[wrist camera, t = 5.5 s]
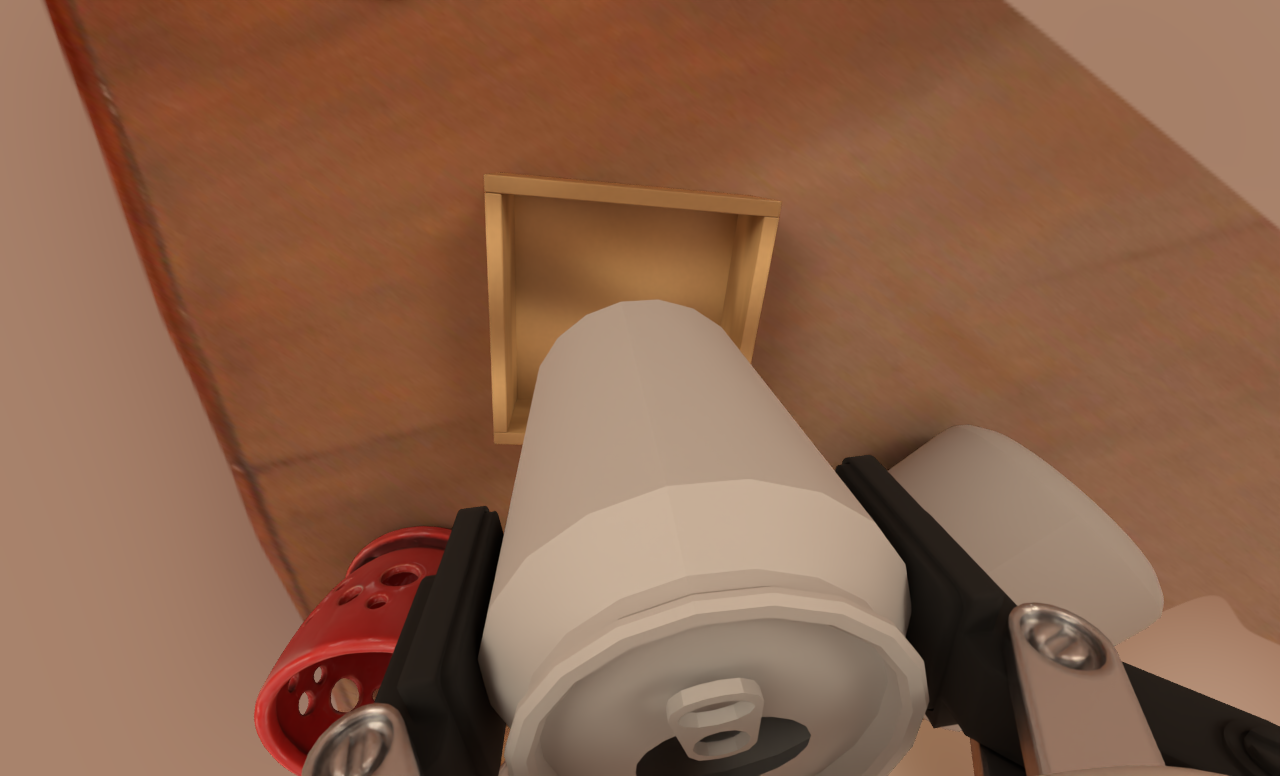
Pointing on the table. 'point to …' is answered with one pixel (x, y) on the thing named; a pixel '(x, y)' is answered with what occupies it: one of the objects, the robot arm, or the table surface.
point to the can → (689, 574)
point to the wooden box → (611, 267)
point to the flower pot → (345, 641)
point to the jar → (1032, 530)
